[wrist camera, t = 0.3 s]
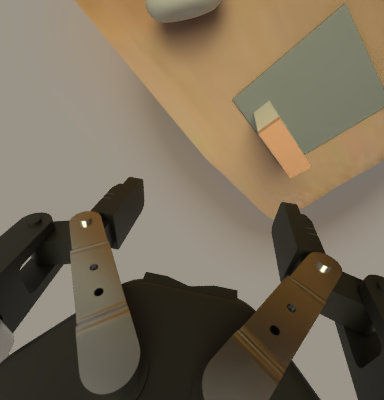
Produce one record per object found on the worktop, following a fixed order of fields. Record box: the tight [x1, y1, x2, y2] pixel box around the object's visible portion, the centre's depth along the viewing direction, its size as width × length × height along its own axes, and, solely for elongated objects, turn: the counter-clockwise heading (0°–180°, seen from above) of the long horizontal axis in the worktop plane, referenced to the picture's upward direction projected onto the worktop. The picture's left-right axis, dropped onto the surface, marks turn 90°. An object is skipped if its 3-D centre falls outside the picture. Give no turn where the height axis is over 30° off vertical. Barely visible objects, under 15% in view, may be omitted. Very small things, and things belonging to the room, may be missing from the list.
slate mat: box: [233, 3, 384, 168], centre depth 36 cm, size 18×16×1 cm
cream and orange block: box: [254, 101, 312, 179], centre depth 34 cm, size 3×8×12 cm, turn 42°
